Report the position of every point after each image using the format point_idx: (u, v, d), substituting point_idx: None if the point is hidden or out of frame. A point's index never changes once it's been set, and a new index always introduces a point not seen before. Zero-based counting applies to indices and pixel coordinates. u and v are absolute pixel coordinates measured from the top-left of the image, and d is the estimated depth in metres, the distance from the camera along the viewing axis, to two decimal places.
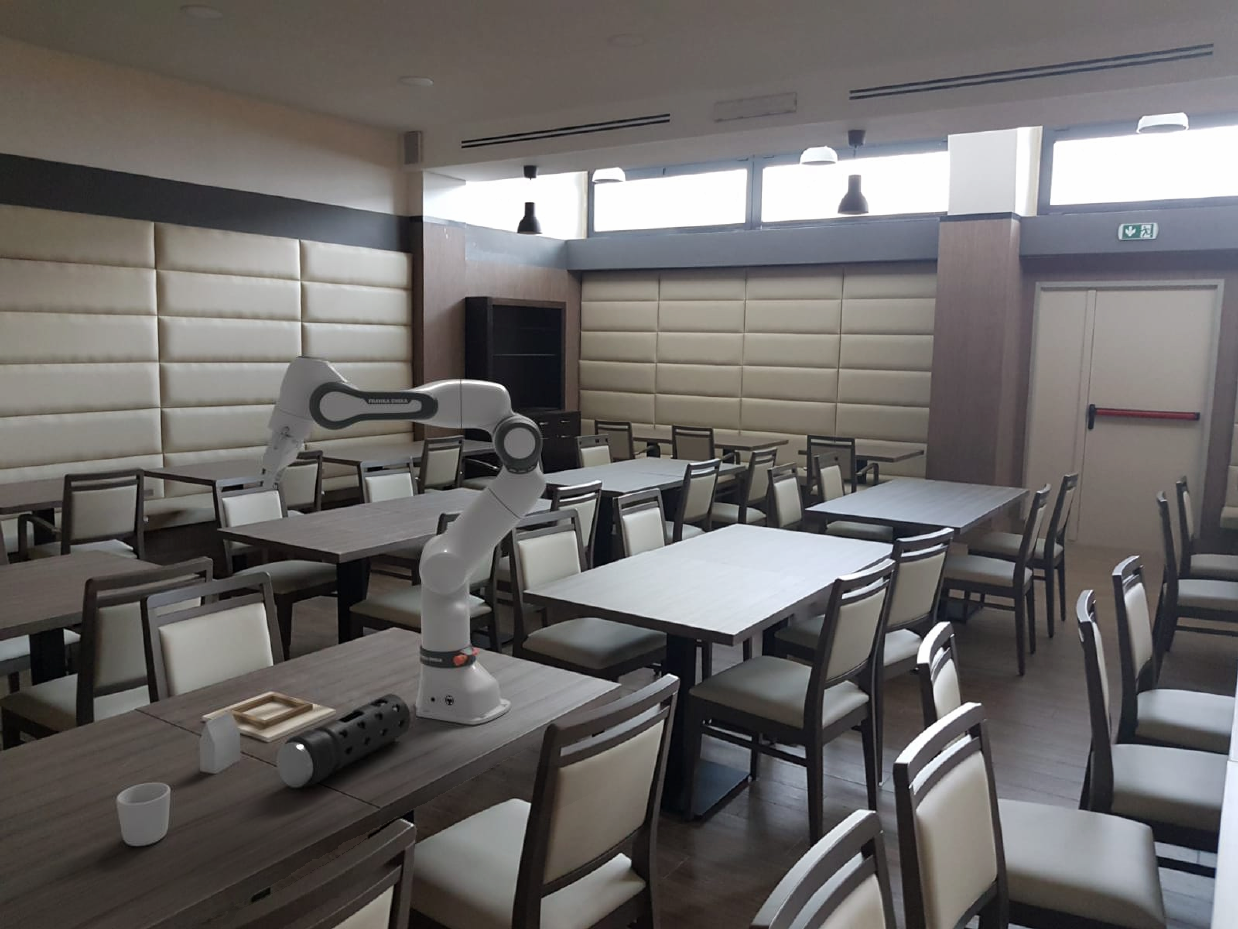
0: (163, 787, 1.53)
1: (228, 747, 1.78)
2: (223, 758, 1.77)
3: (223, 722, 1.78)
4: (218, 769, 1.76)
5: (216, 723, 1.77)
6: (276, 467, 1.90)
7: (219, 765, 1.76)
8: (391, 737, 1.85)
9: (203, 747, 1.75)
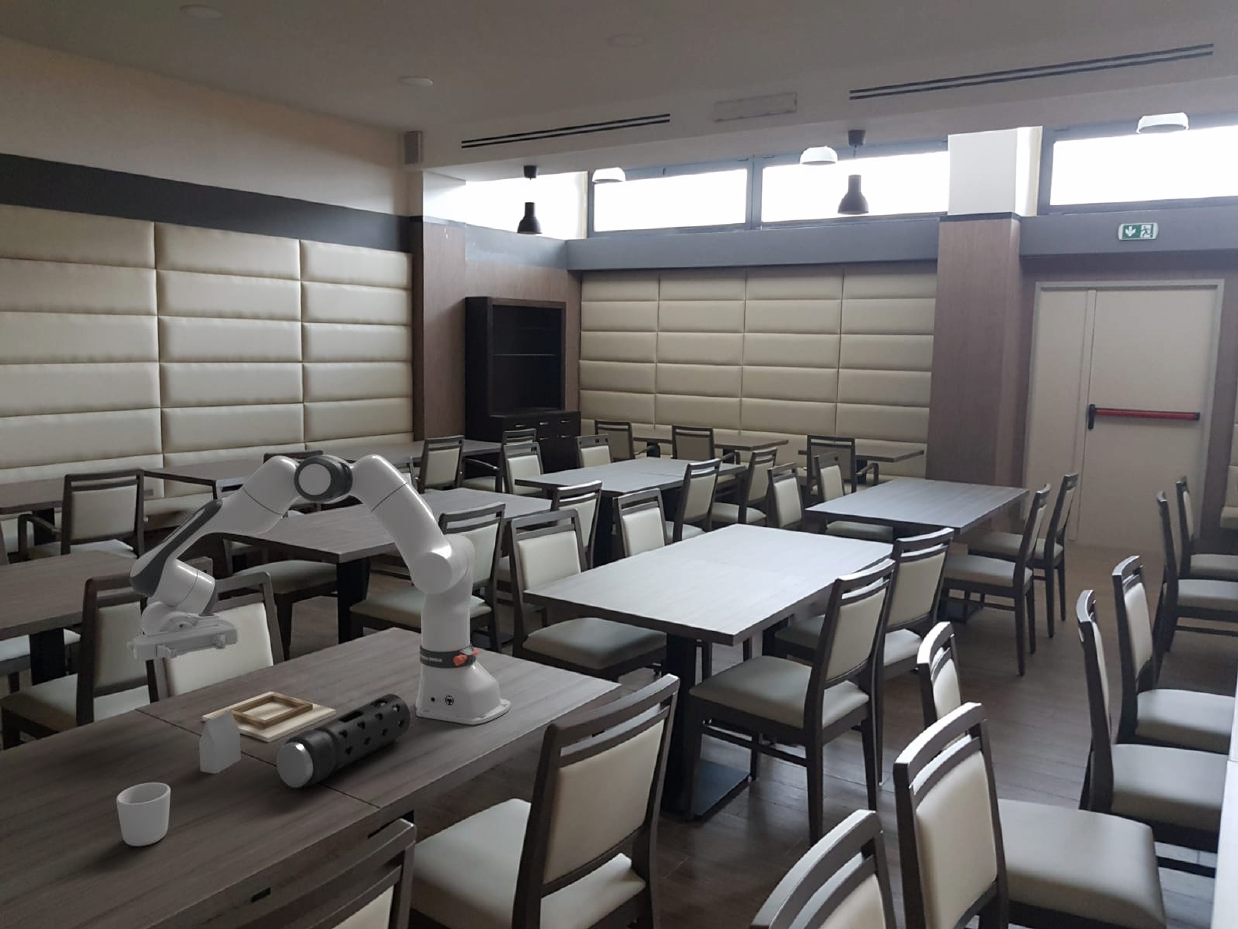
0: (163, 787, 1.53)
1: (228, 747, 1.78)
2: (223, 758, 1.77)
3: (223, 722, 1.78)
4: (218, 769, 1.76)
5: (216, 723, 1.77)
6: (136, 645, 1.83)
7: (219, 765, 1.76)
8: (391, 737, 1.85)
9: (203, 747, 1.75)
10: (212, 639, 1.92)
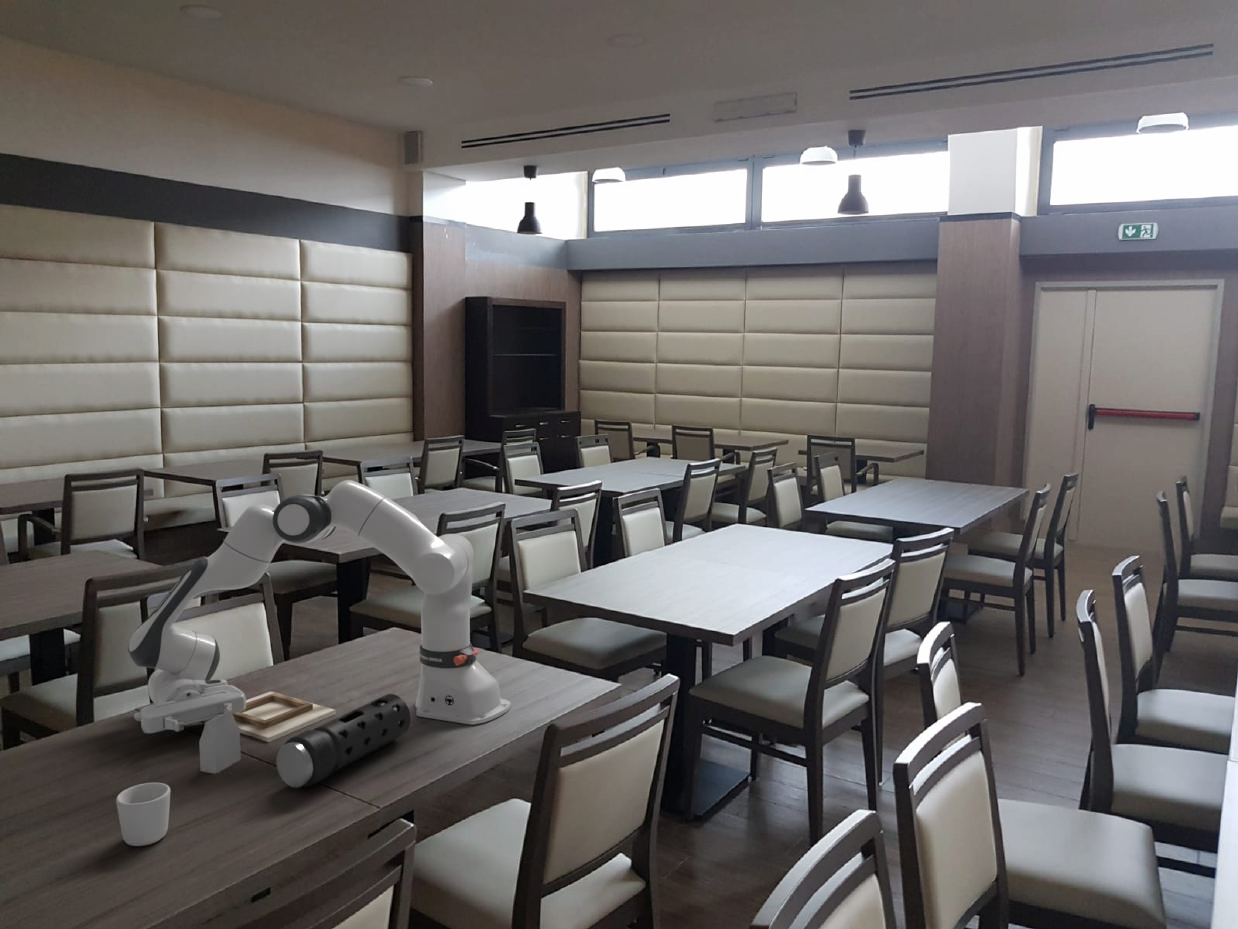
0: (163, 787, 1.53)
1: (228, 747, 1.78)
2: (223, 758, 1.77)
3: (223, 722, 1.78)
4: (218, 769, 1.76)
5: (216, 723, 1.77)
6: (143, 718, 1.83)
7: (219, 765, 1.76)
8: (391, 737, 1.85)
9: (203, 747, 1.75)
10: (219, 708, 1.92)
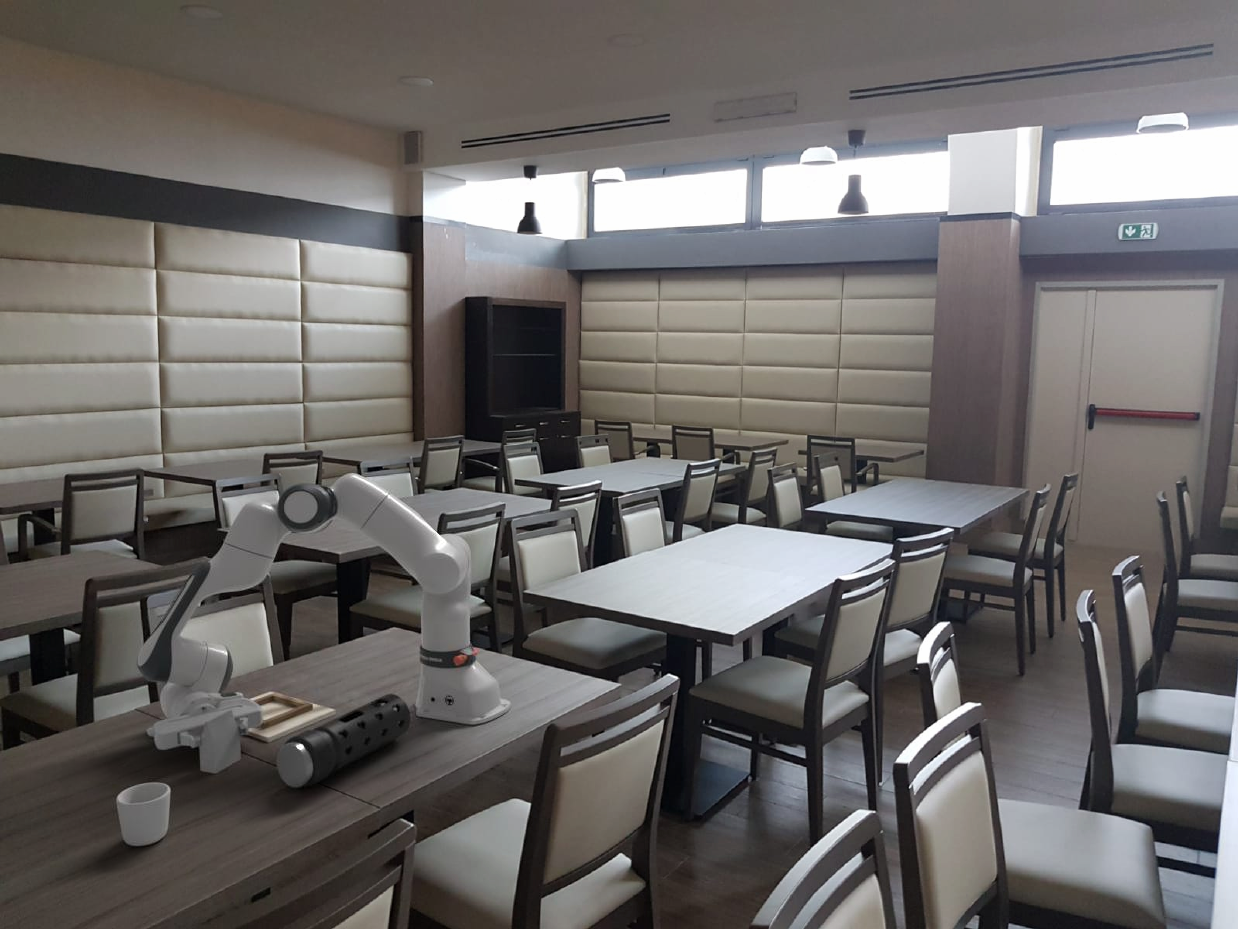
0: (163, 787, 1.53)
1: (228, 747, 1.78)
2: (223, 757, 1.77)
3: (223, 722, 1.78)
4: (218, 769, 1.76)
5: (216, 723, 1.77)
6: (157, 734, 1.75)
7: (219, 765, 1.76)
8: (391, 737, 1.85)
9: (203, 747, 1.75)
10: None
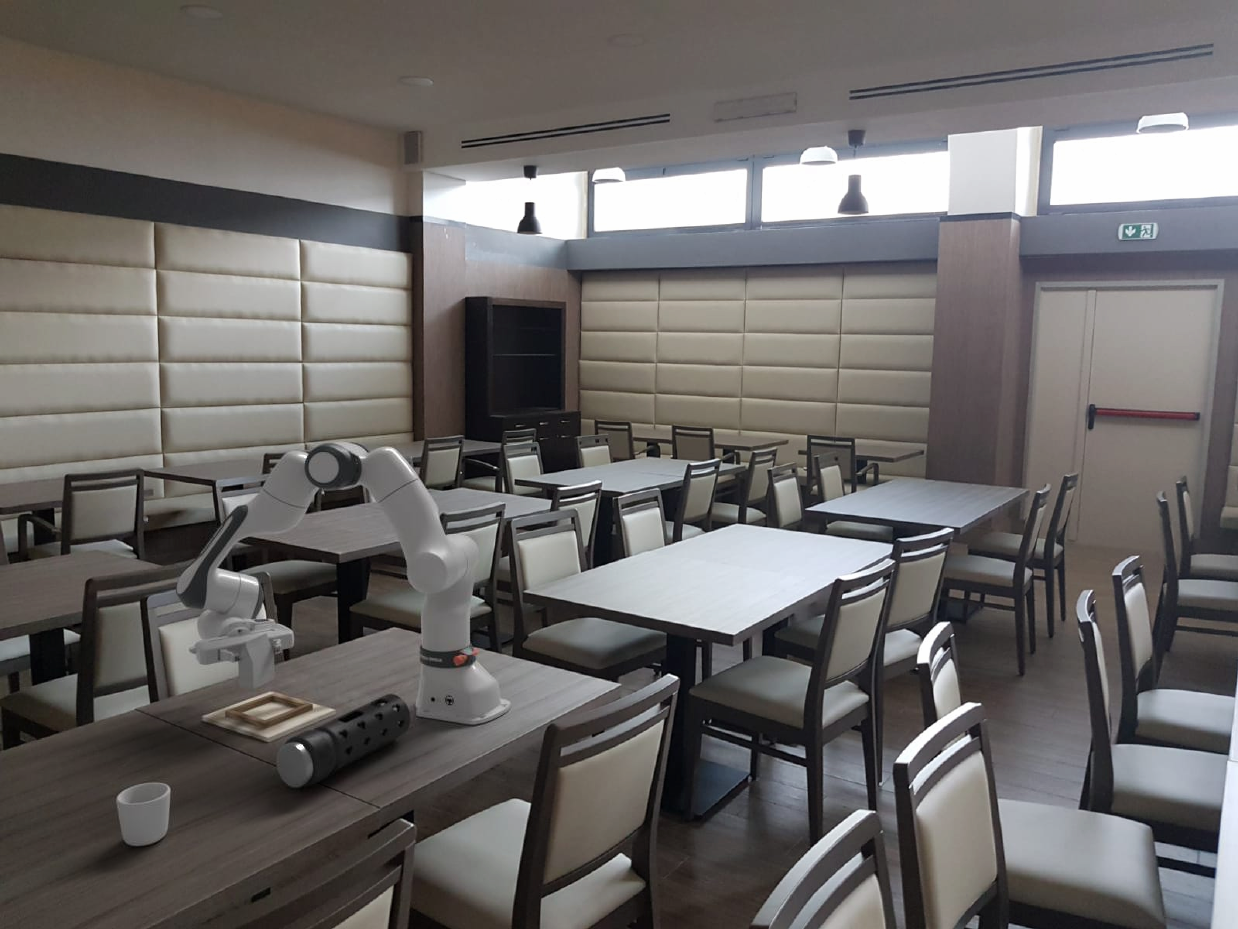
0: (163, 787, 1.53)
1: (264, 666, 1.95)
2: (260, 675, 1.94)
3: (259, 643, 1.95)
4: (256, 685, 1.93)
5: (253, 644, 1.93)
6: (199, 650, 1.92)
7: (256, 682, 1.93)
8: (391, 737, 1.85)
9: (242, 665, 1.92)
10: None
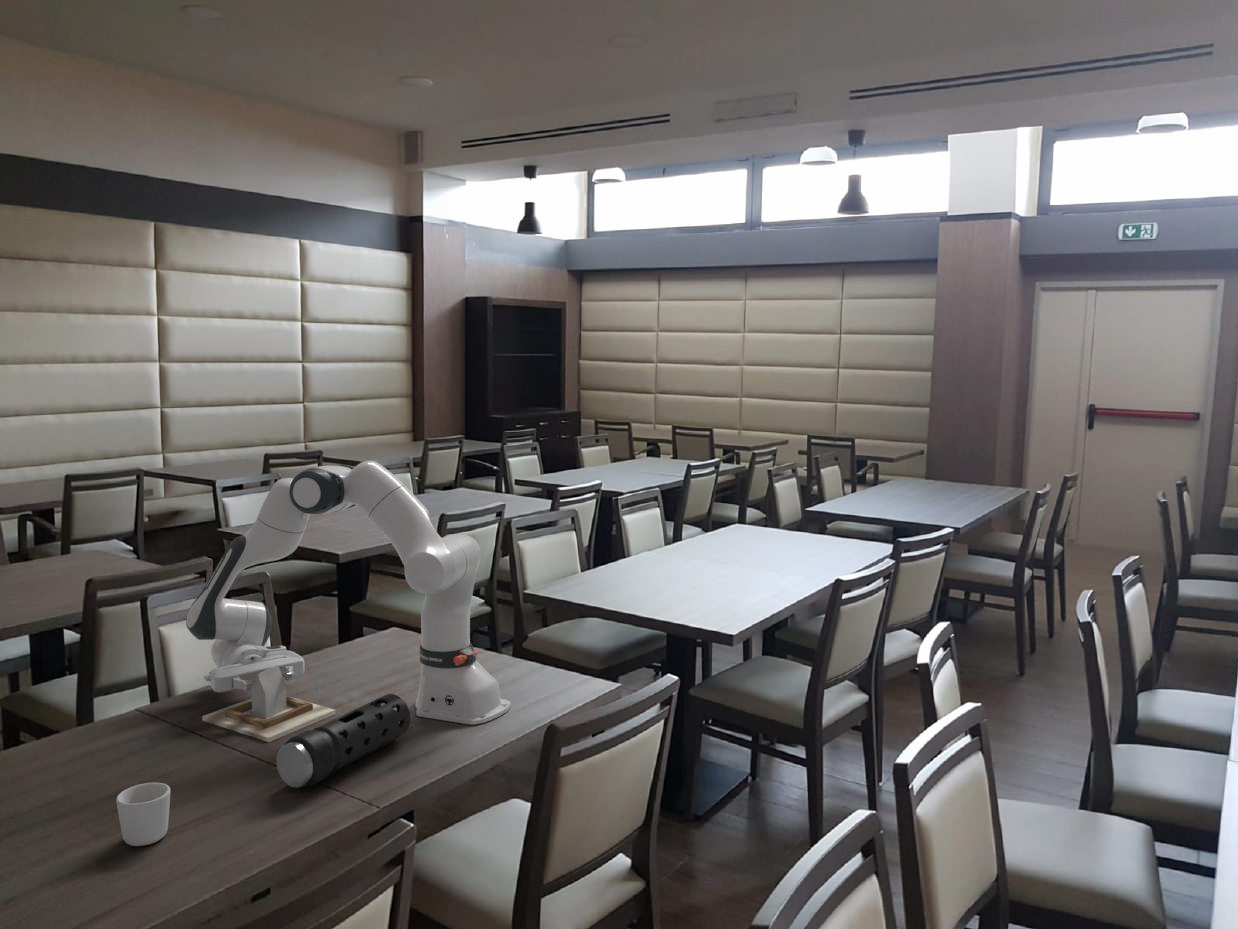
0: (163, 787, 1.53)
1: (276, 696, 2.02)
2: (272, 706, 2.01)
3: (272, 675, 2.02)
4: (268, 715, 2.00)
5: (266, 675, 2.01)
6: (214, 678, 1.99)
7: (269, 712, 2.00)
8: (391, 737, 1.85)
9: (255, 696, 1.99)
10: (281, 670, 2.08)
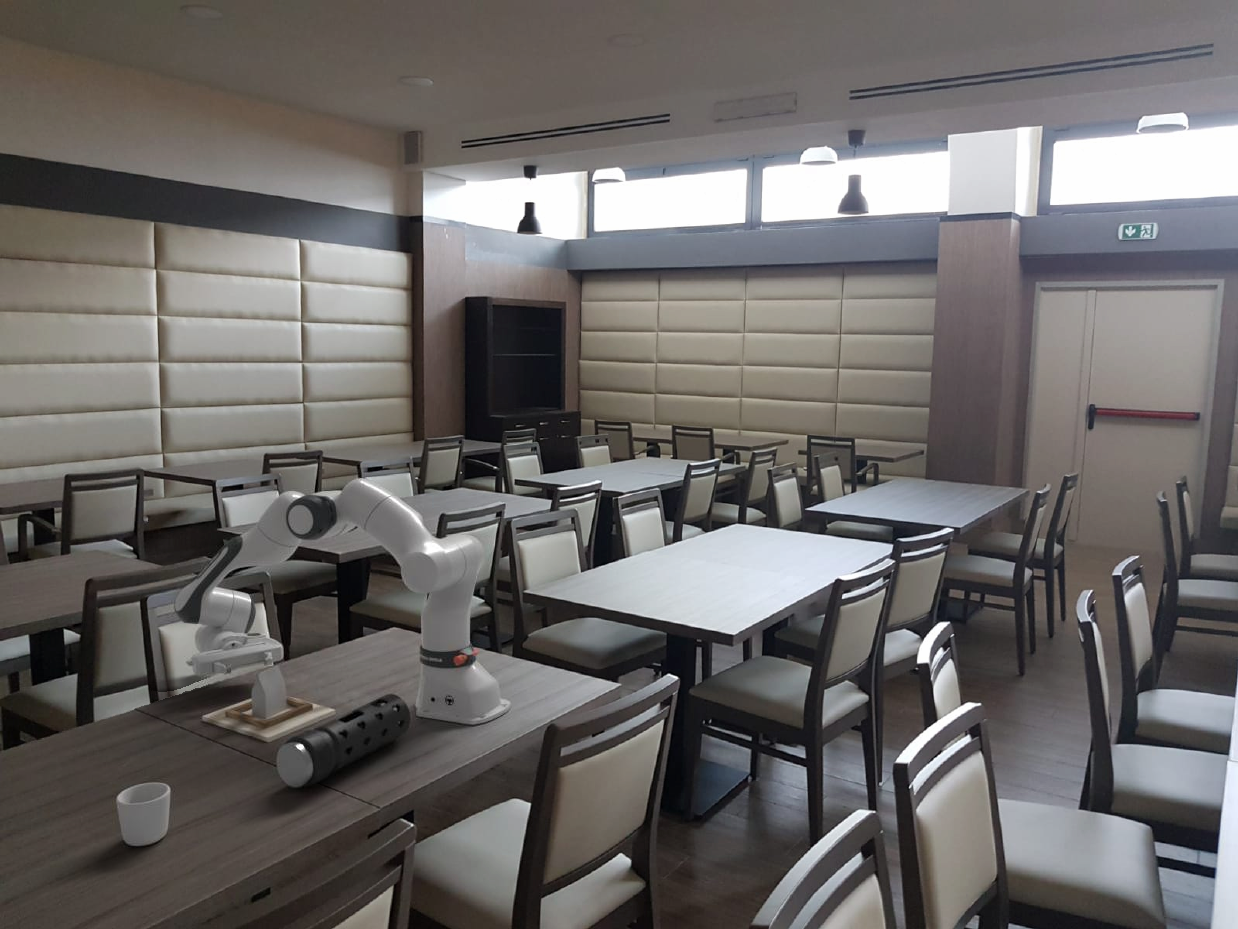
0: (163, 787, 1.53)
1: (276, 696, 2.02)
2: (272, 706, 2.01)
3: (272, 675, 2.02)
4: (268, 715, 2.00)
5: (266, 675, 2.01)
6: (195, 663, 2.09)
7: (269, 712, 2.00)
8: (391, 737, 1.85)
9: (255, 696, 1.99)
10: (260, 656, 2.18)
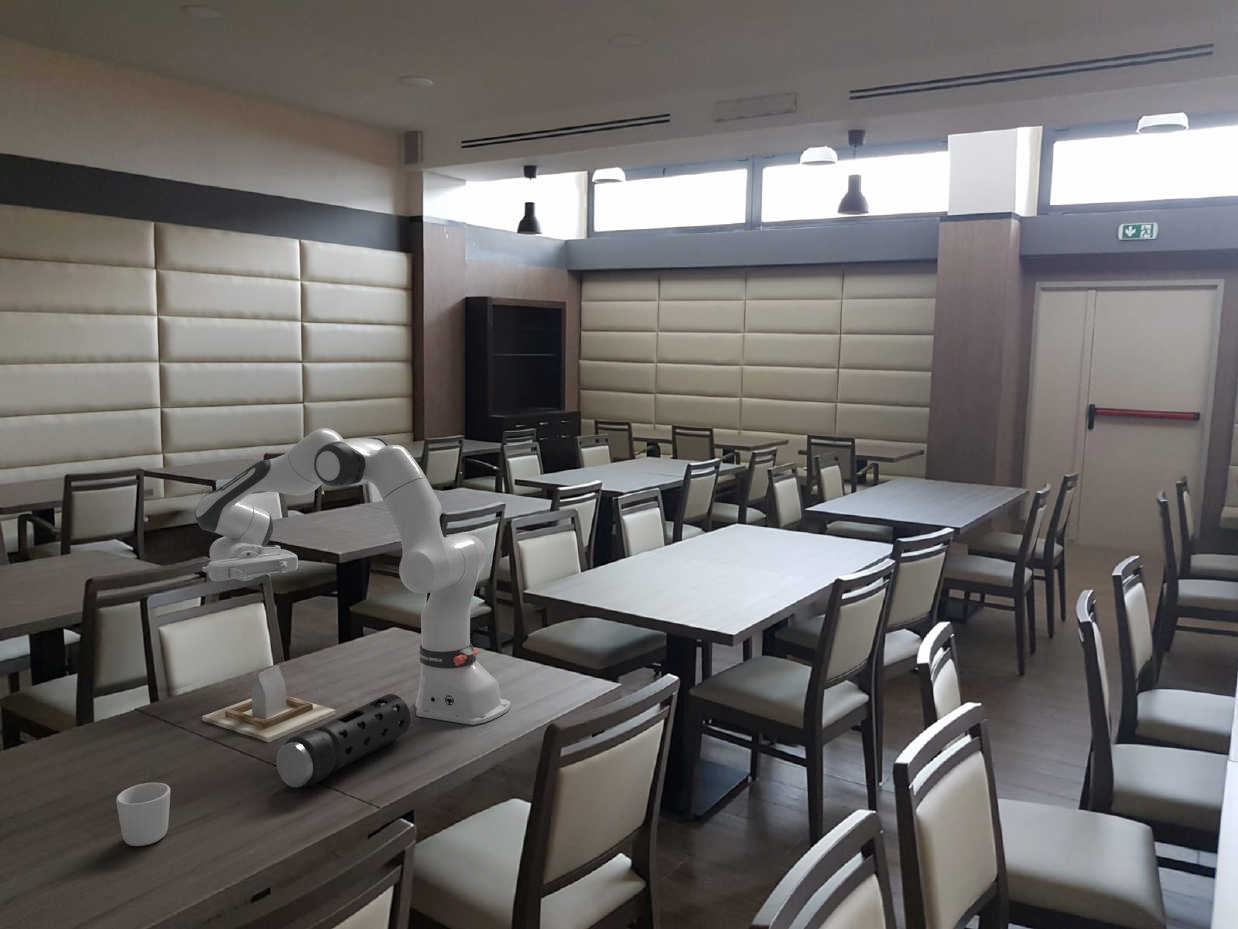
0: (163, 787, 1.53)
1: (276, 696, 2.02)
2: (272, 706, 2.01)
3: (272, 675, 2.02)
4: (268, 715, 2.00)
5: (266, 675, 2.01)
6: (212, 567, 2.10)
7: (269, 712, 2.00)
8: (391, 737, 1.85)
9: (255, 696, 1.99)
10: (275, 565, 2.19)
